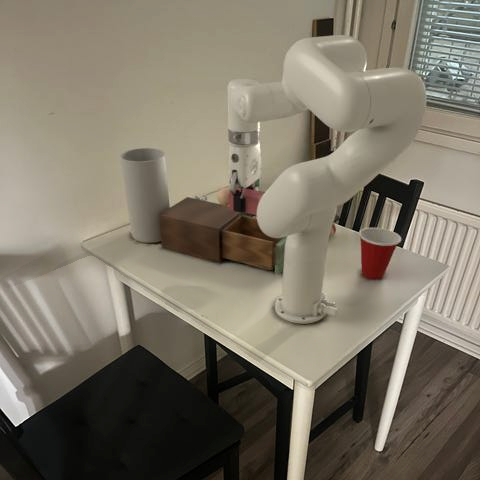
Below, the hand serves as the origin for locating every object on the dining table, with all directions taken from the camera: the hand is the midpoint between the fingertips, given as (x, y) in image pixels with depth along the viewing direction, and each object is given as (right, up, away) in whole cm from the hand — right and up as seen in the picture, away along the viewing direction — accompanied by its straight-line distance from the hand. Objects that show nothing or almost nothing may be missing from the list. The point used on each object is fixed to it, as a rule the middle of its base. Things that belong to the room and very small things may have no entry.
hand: (244, 207), depth 128 cm
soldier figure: (-14, +7, +39) cm, 42 cm away
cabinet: (-12, -7, +20) cm, 24 cm away
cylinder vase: (-29, -3, +26) cm, 39 cm away
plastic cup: (+35, -17, +6) cm, 40 cm away
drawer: (+7, -12, +11) cm, 18 cm away
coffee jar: (+1, +7, +39) cm, 40 cm away
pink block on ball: (-1, 0, +1) cm, 1 cm away
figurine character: (+22, -6, +22) cm, 32 cm away
